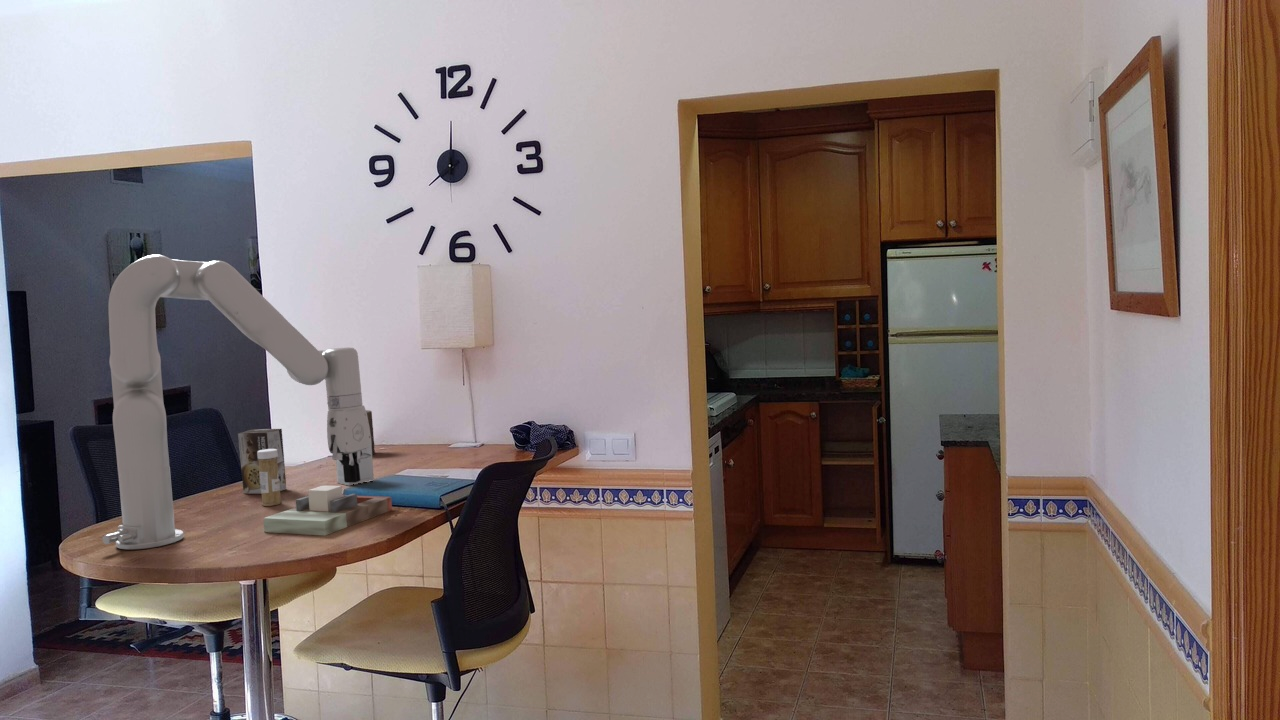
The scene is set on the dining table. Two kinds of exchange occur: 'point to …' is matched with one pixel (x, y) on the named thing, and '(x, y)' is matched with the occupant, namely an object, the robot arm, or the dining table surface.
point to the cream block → (323, 497)
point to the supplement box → (364, 468)
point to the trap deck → (327, 515)
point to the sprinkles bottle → (269, 477)
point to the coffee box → (249, 460)
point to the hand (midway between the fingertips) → (352, 481)
